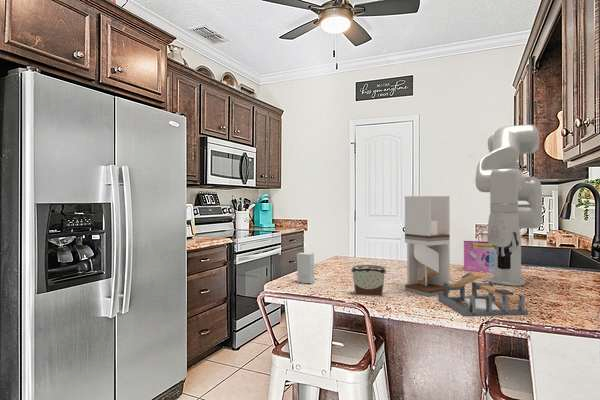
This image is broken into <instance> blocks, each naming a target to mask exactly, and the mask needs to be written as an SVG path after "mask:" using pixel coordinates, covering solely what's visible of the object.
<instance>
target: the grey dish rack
mask: <svg viewBox="0 0 600 400" xmlns="http://www.w3.org/2000/svg"><path fill="white" fill-rule="evenodd" d="M477 283H478V282H475V281H472V282H471V295H469V296H468V295H467V296H466V295H465V294H466V292H465V291H466V290H465V289H466V288H465V287H466V285H464V286H462V290H459V296H449V293H448V284H447V283H443V293H438V295H437V301H439V302H441V303H442V304H444V305H446V306H447V307H449V308H450V309H452V310H453V311H456V312H458V313H459V314H460V315H463V316H464V317H480V316H481V317H482V316H484V317H485V316H514V315H515V316H517V315H518V316H519V315H529V310H527V309H525V299H526V297H525V295H523V294H518V295H517V296H519V297H520V300H517V302H518V307H517V309H509V300H508V296H507V295H502V297H501V300H502V301H501V307H502V309H500V310H492V302H493V301H496V296H494V294H493V293H490V292H488V291H487V292H488V295H478V290H477ZM487 283H490V285H491V286H492V287H494V283H493V282H491V281H488V282H487ZM465 298H470V308H469V307H468V305H465V304H463V303H461V301H463V302H465V301H464V299H465ZM475 299H486V311H475ZM459 301H460V302H459Z"/></svg>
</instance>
